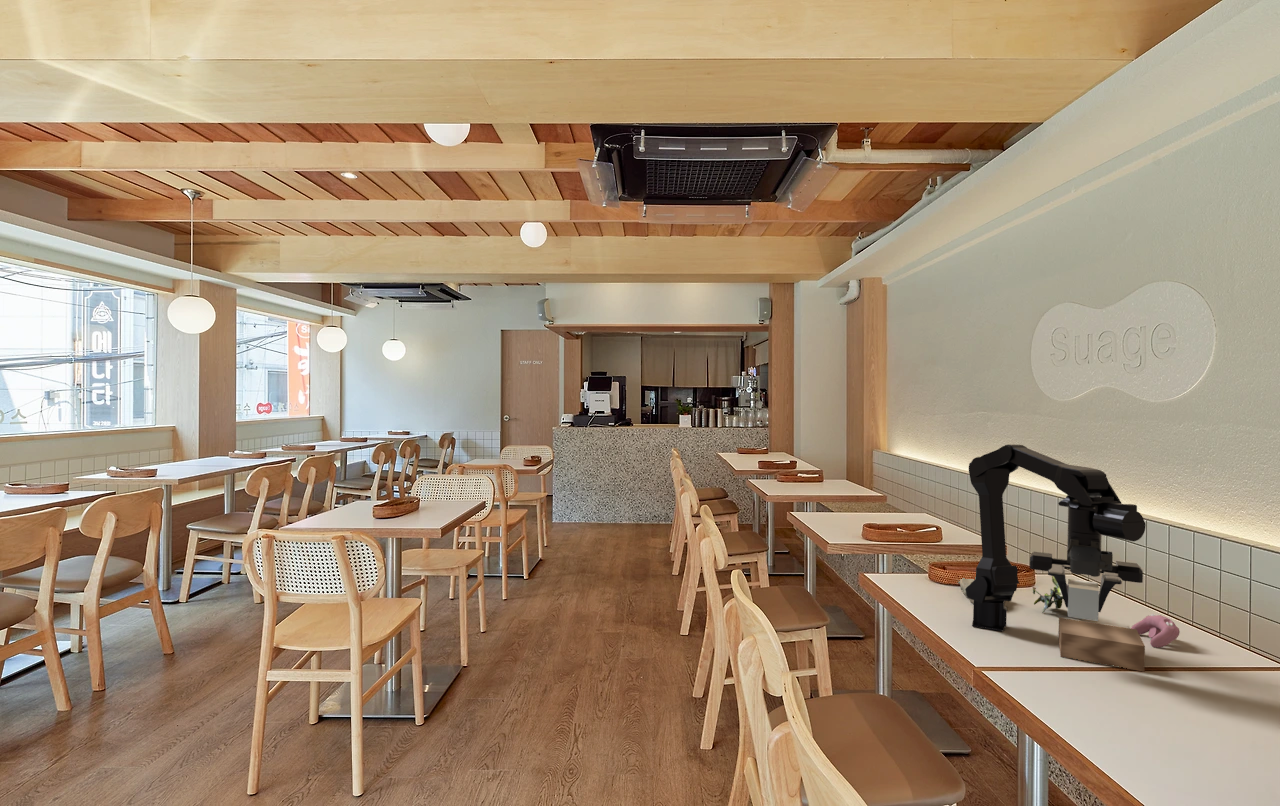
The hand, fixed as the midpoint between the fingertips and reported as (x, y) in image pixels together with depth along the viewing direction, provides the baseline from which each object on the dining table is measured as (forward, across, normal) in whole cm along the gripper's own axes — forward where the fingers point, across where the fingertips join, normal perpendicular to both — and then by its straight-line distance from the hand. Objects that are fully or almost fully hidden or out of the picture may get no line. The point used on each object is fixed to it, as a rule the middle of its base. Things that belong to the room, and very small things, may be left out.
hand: (1082, 609), depth 136 cm
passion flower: (+11, -4, +37) cm, 39 cm away
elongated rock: (+11, -22, +48) cm, 54 cm away
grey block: (+1, 0, 0) cm, 1 cm away
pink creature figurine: (+11, +14, +27) cm, 33 cm away
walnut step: (+11, +3, +9) cm, 15 cm away
